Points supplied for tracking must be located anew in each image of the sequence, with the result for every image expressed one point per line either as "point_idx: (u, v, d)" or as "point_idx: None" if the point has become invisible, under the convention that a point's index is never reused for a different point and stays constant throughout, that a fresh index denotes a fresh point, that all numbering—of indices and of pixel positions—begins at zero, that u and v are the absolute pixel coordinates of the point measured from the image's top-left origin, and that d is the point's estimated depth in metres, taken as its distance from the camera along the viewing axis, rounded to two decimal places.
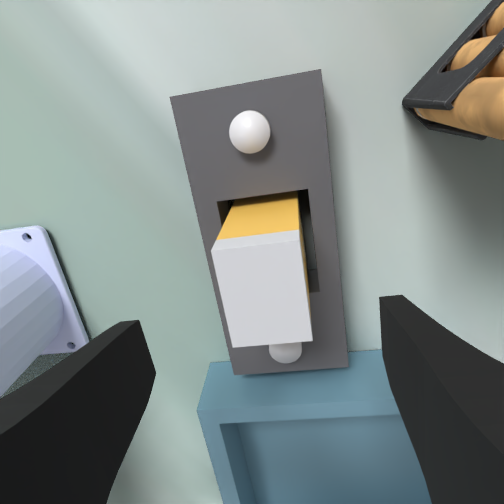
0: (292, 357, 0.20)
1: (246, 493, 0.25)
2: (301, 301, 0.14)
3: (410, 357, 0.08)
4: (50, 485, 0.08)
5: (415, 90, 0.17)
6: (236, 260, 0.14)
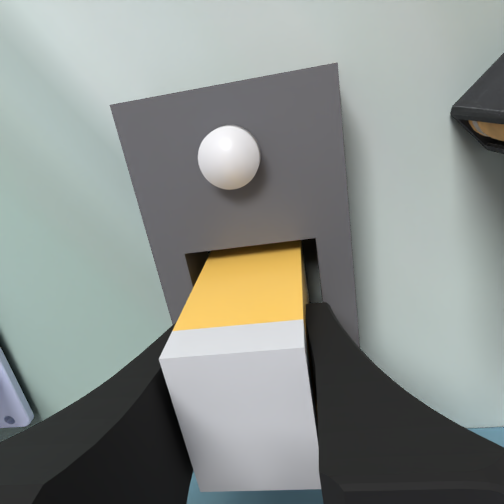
0: None
1: None
2: (307, 435, 0.09)
3: (314, 364, 0.09)
4: (147, 482, 0.07)
5: (473, 95, 0.11)
6: (200, 373, 0.08)
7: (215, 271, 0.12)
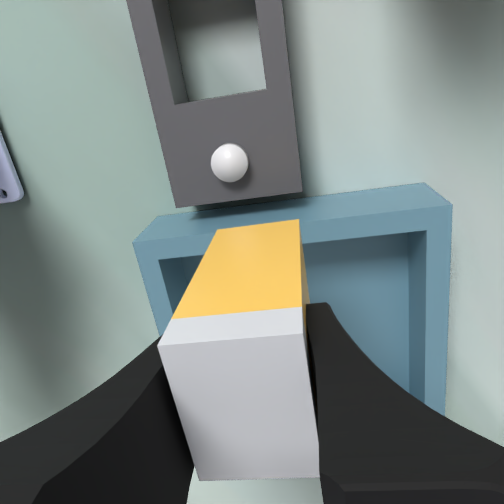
0: (237, 173, 0.17)
1: None
2: (306, 422, 0.09)
3: (314, 364, 0.09)
4: (147, 482, 0.07)
5: None
6: (199, 361, 0.08)
7: (214, 262, 0.12)
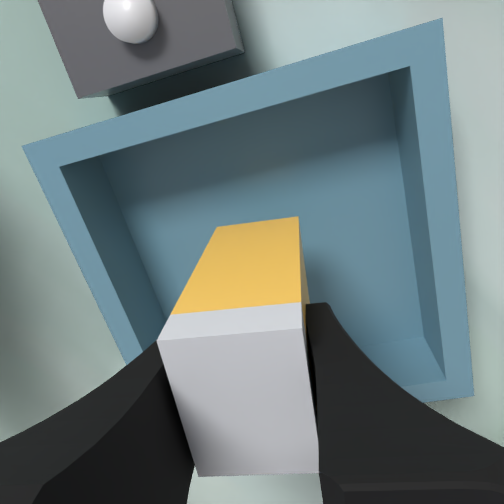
0: (141, 27, 0.13)
1: (148, 319, 0.18)
2: (305, 418, 0.09)
3: (314, 364, 0.09)
4: (147, 482, 0.07)
5: None
6: (198, 356, 0.08)
7: (214, 258, 0.12)
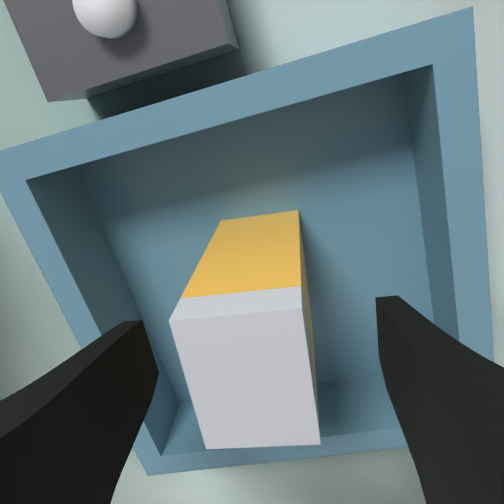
0: (117, 19, 0.11)
1: None
2: (304, 392, 0.09)
3: (405, 357, 0.08)
4: (55, 485, 0.08)
5: None
6: (207, 334, 0.09)
7: (219, 249, 0.13)
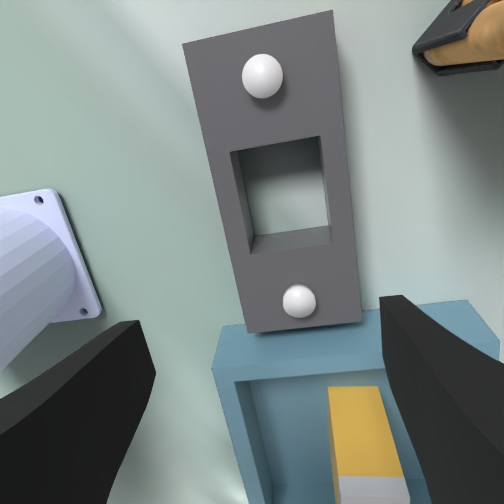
0: (306, 311, 0.20)
1: (260, 458, 0.25)
2: None
3: (410, 357, 0.08)
4: (50, 485, 0.08)
5: (425, 34, 0.17)
6: (359, 503, 0.18)
7: (341, 425, 0.21)
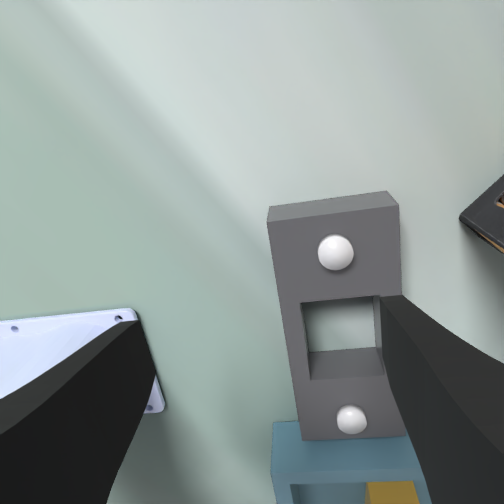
0: (358, 429, 0.22)
1: None
2: None
3: (410, 357, 0.08)
4: (50, 485, 0.08)
5: (473, 211, 0.19)
6: None
7: None
